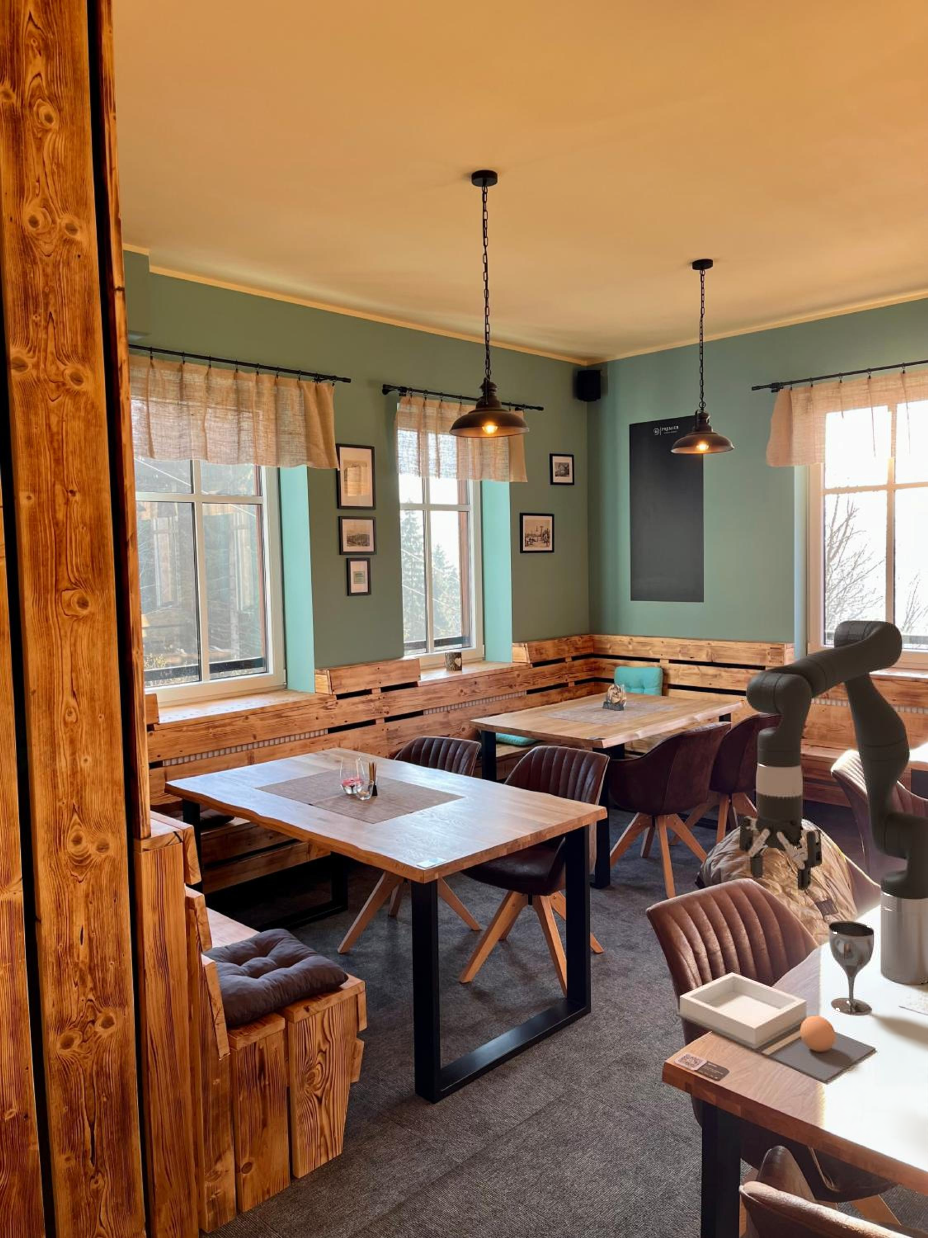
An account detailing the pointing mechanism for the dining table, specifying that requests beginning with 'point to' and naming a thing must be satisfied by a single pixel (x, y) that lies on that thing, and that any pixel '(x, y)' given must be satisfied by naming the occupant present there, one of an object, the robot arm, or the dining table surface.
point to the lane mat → (809, 1053)
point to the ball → (817, 1033)
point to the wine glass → (851, 959)
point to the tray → (743, 1009)
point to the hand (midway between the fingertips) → (779, 883)
